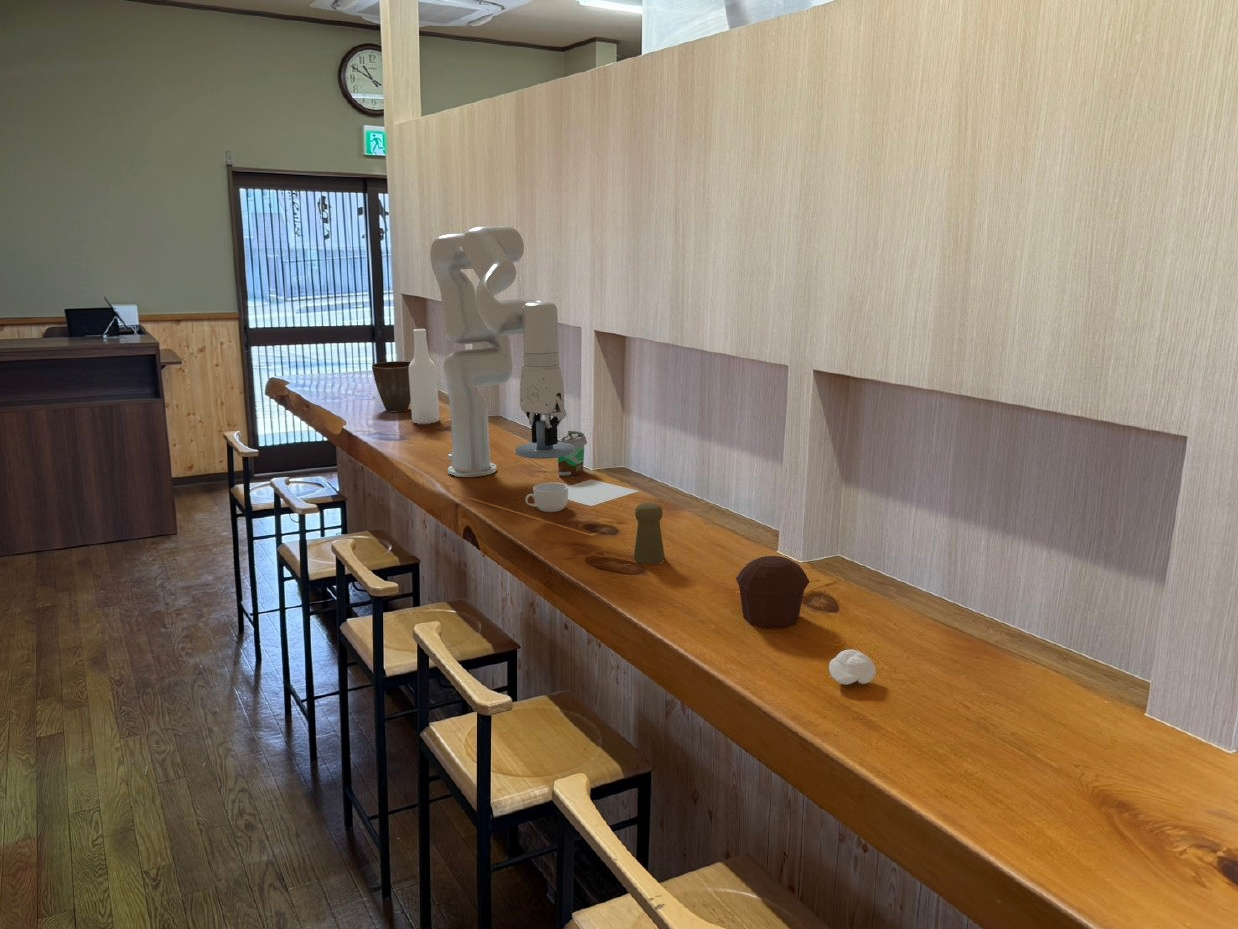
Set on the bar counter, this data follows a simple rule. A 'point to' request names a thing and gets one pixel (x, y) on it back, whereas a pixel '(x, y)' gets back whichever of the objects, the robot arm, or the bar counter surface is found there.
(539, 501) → the teacup
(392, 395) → the plant pot
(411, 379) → the alcohol
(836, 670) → the dumpling
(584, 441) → the food container
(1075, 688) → the bar counter surface
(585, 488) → the mat
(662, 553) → the cork
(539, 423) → the lid
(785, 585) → the muffin
